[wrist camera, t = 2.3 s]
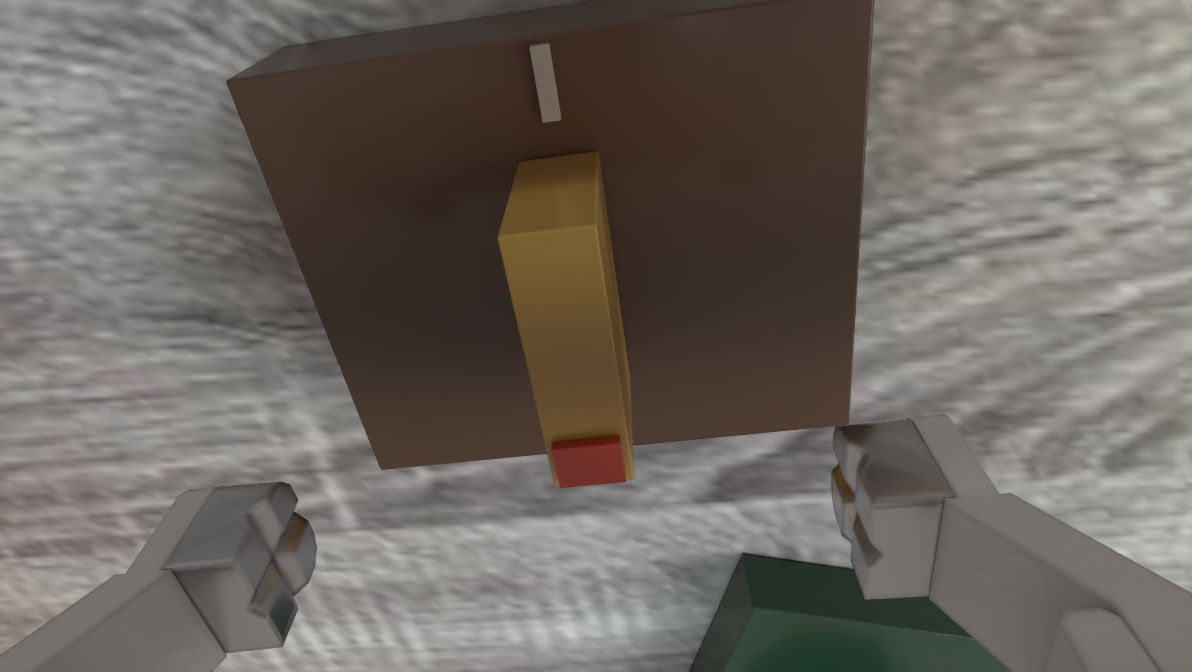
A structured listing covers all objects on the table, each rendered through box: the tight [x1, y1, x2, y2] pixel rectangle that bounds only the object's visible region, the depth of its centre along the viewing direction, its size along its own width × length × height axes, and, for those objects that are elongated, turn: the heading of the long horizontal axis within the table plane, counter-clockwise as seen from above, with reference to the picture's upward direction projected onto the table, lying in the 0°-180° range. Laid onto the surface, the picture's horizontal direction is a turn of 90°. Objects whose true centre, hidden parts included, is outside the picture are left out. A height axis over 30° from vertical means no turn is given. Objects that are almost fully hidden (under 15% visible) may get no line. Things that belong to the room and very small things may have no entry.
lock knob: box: [497, 151, 634, 488], centre depth 14 cm, size 6×2×4 cm, turn 8°
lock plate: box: [227, 0, 874, 470], centre depth 17 cm, size 10×12×3 cm
